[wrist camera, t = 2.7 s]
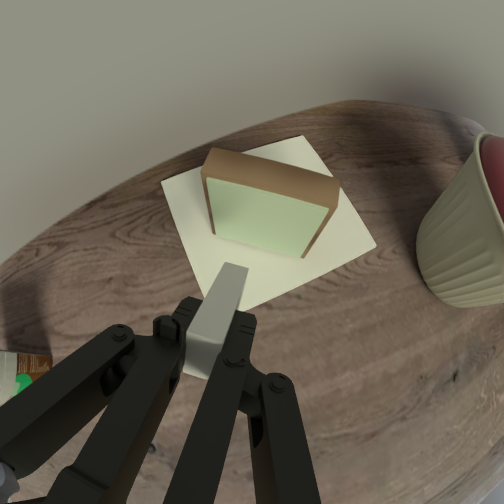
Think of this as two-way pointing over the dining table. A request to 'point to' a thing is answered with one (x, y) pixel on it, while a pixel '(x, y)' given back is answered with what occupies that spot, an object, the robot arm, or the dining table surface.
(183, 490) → the robot arm
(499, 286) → the canister
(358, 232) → the white flat sheet
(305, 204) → the green-topped wooden box
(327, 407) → the dining table surface
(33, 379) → the food container
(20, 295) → the dining table surface
